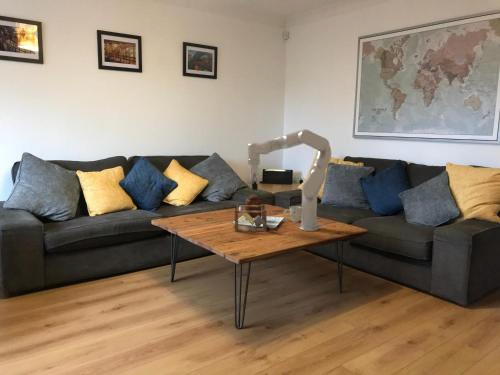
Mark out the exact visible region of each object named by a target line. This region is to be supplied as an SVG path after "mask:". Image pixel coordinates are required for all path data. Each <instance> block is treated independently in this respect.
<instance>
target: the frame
mask: <svg viewBox="0 0 500 375" xmlns="http://www.w3.org/2000/svg"><path fill="white" fill-rule="evenodd" d="M241 206H242V207H243V208H245V207H261V211H246V210H245V211H239V207H241ZM267 211H268V210H267V209H266V204H261V205H245V204H244V205H241V204H234V232H238V233H239V232H240V233H241V232H250V233H251V232H253V233H257V232H267V216H268V215H267V213H268V212H267ZM241 213H261V218H262V220H263V228H262V227H250V226H241V225H238V223H239V214H241Z"/></svg>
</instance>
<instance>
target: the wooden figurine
mask: <svg viewBox="0 0 500 375" xmlns="http://www.w3.org/2000/svg"><path fill="white" fill-rule="evenodd" d="M244 205H262V200H261V197H260V196H259V195H257V194H252V195H249V196H248V197H247V198H246V199H245V204H244ZM244 208H245V209H244V210H245V211H262V207H244ZM248 214H249V215H250V216H251V217H252V218H256V217H257V216H258V215H259V216H260V217H261V218H262V213H248Z"/></svg>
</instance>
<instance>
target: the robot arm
mask: <svg viewBox="0 0 500 375" xmlns="http://www.w3.org/2000/svg"><path fill="white" fill-rule="evenodd" d="M303 144H304V145H306V146H309V147H310V148H312V149H314V150H316V151H317V155H316V158H315V161H314V162H313V165H312V167H311V168H310V170H309V176H308V178H307V180H306V181H304V182H303V184H302V185H301V207H302V209H301V217H300V220H301V223H300V224H301V225H299V226H298V229H299V230H301V231H304V232H305V231H307V232H313V231H314V232H315V231H318V230H319V227H324V223H323V222H322V223H321V222H317V212H318V211H317V209H318V207H317V206H318V194H319V192H320V191H321V188H322V186H323V185H324V182H325V179H326V177H327V172H326V171H327V168H328V165H329V163H330V161H331V159H332V149H331V145H330V141H329V140H328V139H327V138H326V137H323V136H321V135H319V134H317V133H316V132H315V133H314V132H313V131H311V130H309V129H304V128H303V129H301V130H297V131H294V132H291V133H288V134H285V135H282V136H280V137H276V138H274V139H269V140H266V141H264V142H262V143H258V142H250V143H248V144H247V162H248V163H247V164H248V166H249V180H250V181H251V188H252V190H253V191H257V190H258V180H259V165H260V164H261V159H260V158H261V156H260V155H265V156H266V155H269V154H270V153H272V152H275V151H280V150H286V149H291V148H294V147H297V146H300V145H301V146H302V145H303Z"/></svg>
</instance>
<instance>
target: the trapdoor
mask: <svg viewBox="0 0 500 375" xmlns="http://www.w3.org/2000/svg"><path fill="white" fill-rule="evenodd" d="M238 211H246V210H245V209H244V207H242V206H241V207H238ZM240 214H241V215H242V216H243V217H244V218H245V220H246V219H247V220H246V221H248V223H251V224H252V225H253V224H254V222H253V218H252V217H251V216H250V215H249V214H248V213H240Z"/></svg>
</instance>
